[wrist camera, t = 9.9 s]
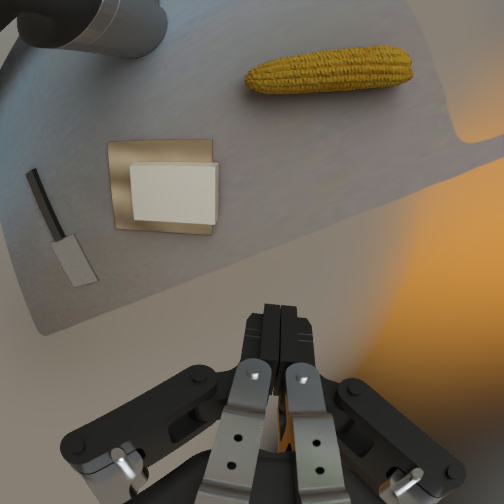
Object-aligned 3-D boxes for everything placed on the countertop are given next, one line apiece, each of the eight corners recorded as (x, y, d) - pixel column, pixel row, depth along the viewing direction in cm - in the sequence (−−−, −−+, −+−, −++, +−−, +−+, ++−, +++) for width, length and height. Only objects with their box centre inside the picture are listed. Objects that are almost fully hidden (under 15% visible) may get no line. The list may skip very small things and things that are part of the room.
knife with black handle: (22, 177, 44) (18, 179, 43) (44, 162, 43) (39, 164, 42) (75, 286, 54) (72, 289, 53) (99, 279, 53) (96, 283, 52)
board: (109, 141, 41) (107, 142, 40) (212, 139, 40) (212, 140, 39) (117, 227, 47) (116, 228, 47) (212, 233, 46) (211, 235, 46)
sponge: (219, 162, 41) (138, 161, 41) (215, 166, 38) (129, 165, 39) (218, 216, 45) (142, 212, 45) (215, 224, 42) (134, 219, 42)
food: (395, 47, 31) (412, 42, 26) (403, 85, 34) (421, 85, 29) (242, 68, 35) (237, 63, 30) (253, 107, 38) (249, 108, 32)
